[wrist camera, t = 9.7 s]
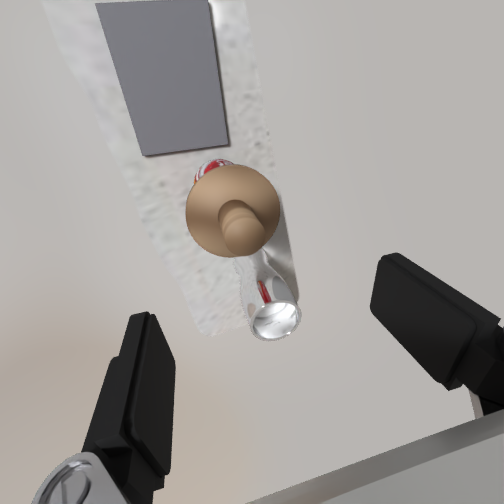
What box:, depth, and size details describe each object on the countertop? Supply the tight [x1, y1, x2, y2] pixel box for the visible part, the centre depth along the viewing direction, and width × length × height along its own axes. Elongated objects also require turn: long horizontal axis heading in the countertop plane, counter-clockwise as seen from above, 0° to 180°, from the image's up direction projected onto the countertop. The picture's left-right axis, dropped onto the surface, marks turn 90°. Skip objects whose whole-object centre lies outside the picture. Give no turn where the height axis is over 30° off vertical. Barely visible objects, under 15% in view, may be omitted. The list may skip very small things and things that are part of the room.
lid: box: [186, 164, 280, 258], centre depth 21 cm, size 9×9×6 cm
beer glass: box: [233, 248, 301, 341], centre depth 36 cm, size 7×7×15 cm
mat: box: [95, 0, 228, 156], centre depth 28 cm, size 14×11×1 cm
